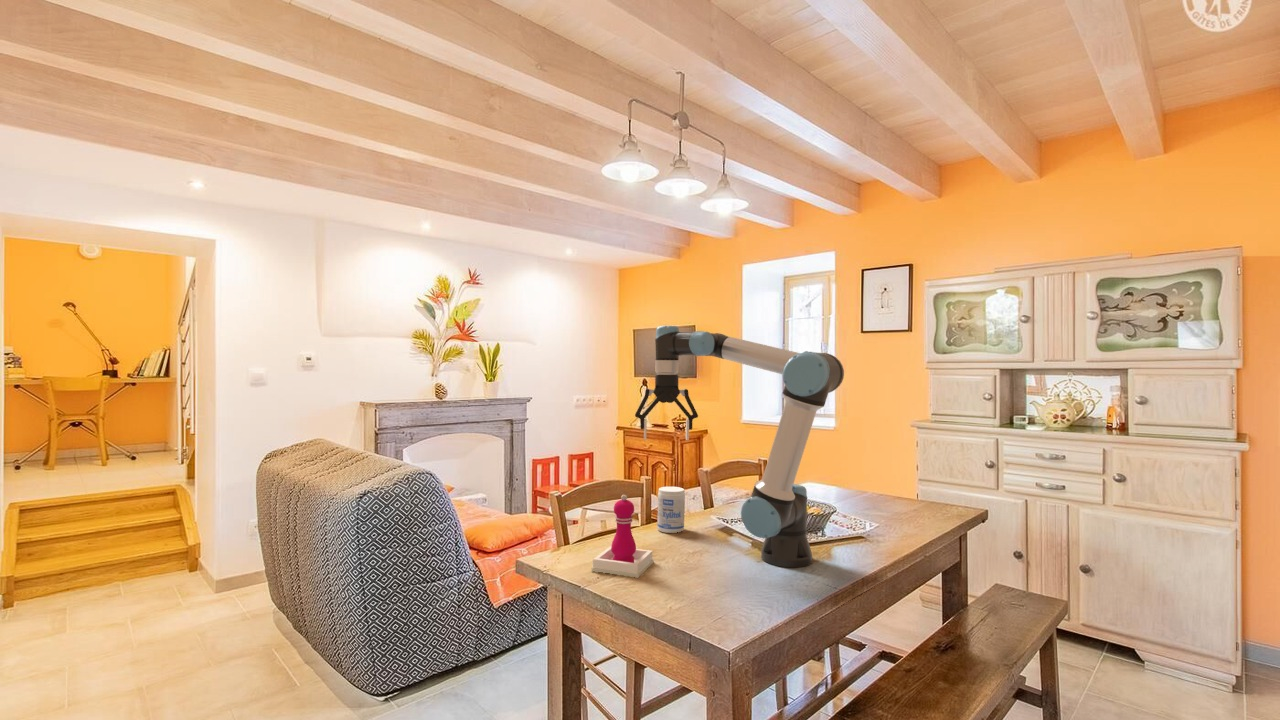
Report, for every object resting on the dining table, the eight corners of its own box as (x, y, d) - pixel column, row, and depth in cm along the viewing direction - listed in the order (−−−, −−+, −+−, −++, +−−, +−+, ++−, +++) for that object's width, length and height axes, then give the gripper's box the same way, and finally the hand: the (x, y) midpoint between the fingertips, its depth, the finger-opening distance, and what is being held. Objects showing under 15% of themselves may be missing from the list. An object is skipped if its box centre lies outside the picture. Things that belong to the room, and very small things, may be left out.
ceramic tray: (653, 562, 180) (653, 550, 180) (637, 577, 167) (638, 565, 167) (610, 556, 185) (610, 545, 185) (591, 571, 171) (591, 559, 171)
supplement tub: (662, 534, 209) (662, 492, 209) (653, 527, 218) (654, 486, 218) (688, 532, 211) (688, 490, 212) (678, 525, 221) (679, 485, 221)
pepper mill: (620, 569, 171) (620, 498, 171) (606, 562, 176) (606, 493, 177) (640, 564, 175) (641, 495, 175) (626, 557, 181) (627, 491, 181)
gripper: (704, 374, 198) (703, 438, 198) (628, 373, 198) (627, 437, 198) (706, 374, 191) (706, 441, 191) (628, 373, 191) (627, 440, 191)
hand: (666, 439), depth 194 cm, fingers open, 13 cm apart
